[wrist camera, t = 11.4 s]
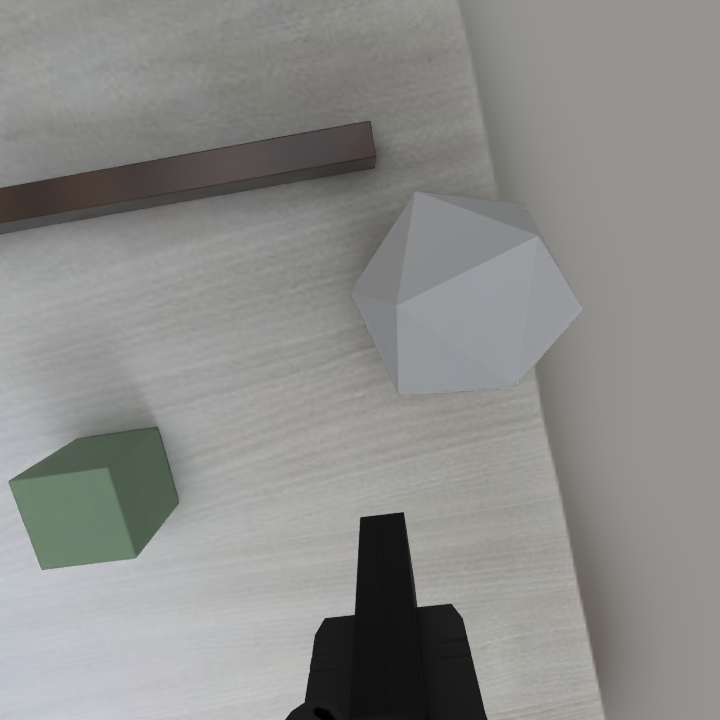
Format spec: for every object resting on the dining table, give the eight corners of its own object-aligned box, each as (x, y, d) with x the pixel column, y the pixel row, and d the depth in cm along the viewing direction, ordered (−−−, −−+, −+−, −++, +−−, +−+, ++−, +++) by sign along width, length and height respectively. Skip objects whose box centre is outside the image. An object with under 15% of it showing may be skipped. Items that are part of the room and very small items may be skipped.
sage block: (158, 426, 25) (107, 467, 20) (179, 503, 26) (136, 558, 21) (76, 438, 25) (6, 481, 21) (101, 513, 27) (41, 570, 22)
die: (326, 306, 24) (376, 464, 17) (363, 136, 18) (462, 279, 11) (459, 308, 27) (546, 445, 20) (530, 162, 21) (686, 289, 14)
